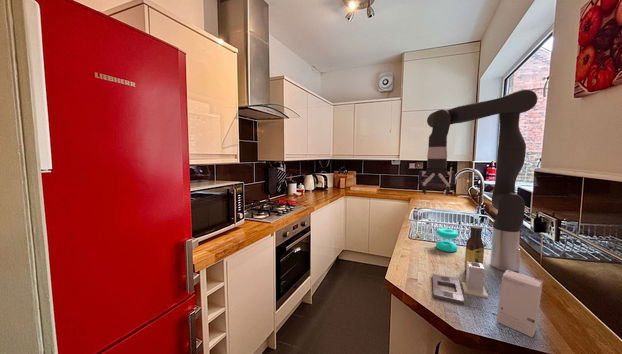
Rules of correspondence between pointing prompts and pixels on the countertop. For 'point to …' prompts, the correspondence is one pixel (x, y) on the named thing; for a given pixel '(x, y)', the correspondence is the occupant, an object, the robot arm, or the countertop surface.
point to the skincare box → (519, 302)
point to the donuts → (447, 245)
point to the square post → (475, 277)
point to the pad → (474, 292)
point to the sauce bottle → (474, 247)
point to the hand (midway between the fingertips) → (435, 194)
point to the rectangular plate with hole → (445, 294)
